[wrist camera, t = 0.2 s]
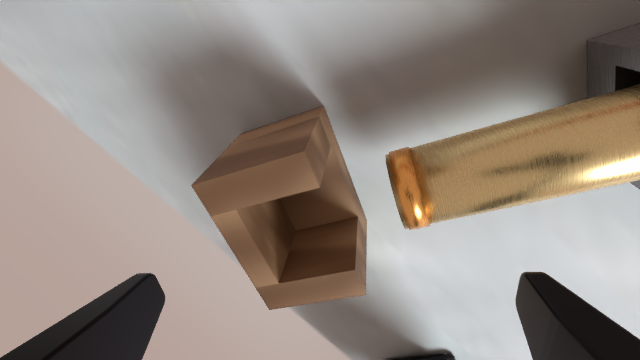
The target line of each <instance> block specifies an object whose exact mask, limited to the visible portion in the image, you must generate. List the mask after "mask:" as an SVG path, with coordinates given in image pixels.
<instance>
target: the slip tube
mask: <svg viewBox="0 0 640 360" xmlns="http://www.w3.org/2000/svg"><path fill="white" fill-rule="evenodd" d="M386 164H387V169H388V174H389V178H390V183H391V187H392V190H393V194H394V198H395V201H396V205H397V208H398V212H399V215H400V218H401V221H402V223H403V226H404V228H405V229H408V228H409V230H413V229H417V228H422V227H427V226H430V224H432V223H436V222H441V221H446V220H451V219H456V218H460V217H465V216H470V215H475V214H480V213H484V212H489V211H494V210H499V209H503V208H508V207H513V206H518V205H523V204H527V203H532V202H537V201H542V200H547V199H551V198H556V197H561V196H566V195H571V194H575V193H580V192H585V191H590V190H595V189H599V188H604V187H609V186H614V185H618V184H623V183H628V182H633V181H638V180H640V84H638V85H635V86H631V87H628V88H624V89H620V90H617V91H613V92H610V93H606V94H603V95H599V96H595V97H592V98H588V99H585V100H581V101H577V102H574V103H570V104H567V105H563V106H560V107H556V108H552V109H549V110H545V111H542V112H538V113H534V114H531V115H527V116H524V117H520V118H516V119H513V120H509V121H506V122H502V123H499V124H495V125H491V126H488V127H484V128H481V129H477V130H473V131H470V132H466V133H463V134H459V135H456V136H452V137H448V138H445V139H441V140H438V141H434V142H430V143H427V144H423V145H420V146H416V147H413V148H409V147H405V148H402V149H398V150H395V151H391V152H389V154H387V155H386Z"/></svg>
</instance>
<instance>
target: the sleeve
mask: <svg viewBox="0 0 640 360" xmlns="http://www.w3.org/2000/svg"><path fill="white" fill-rule="evenodd" d="M587 71H588V98H592V97H595V96H599V95H603V94H606V93H610V92H613V91H617V90H620V89H624V88H628V87H631V86H635V85H638V84H640V23H639V24H636V25H633V26H630V27H627V28H624V29H621V30H618V31H615V32H611V33H608V34H605V35H602V36H599V37H596V38H593V39H590V40H587ZM630 183H631V184H633V185H634V186H636V187H637V188H639V189H640V180H638V181H633V182H630Z"/></svg>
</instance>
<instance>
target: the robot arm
mask: <svg viewBox="0 0 640 360" xmlns="http://www.w3.org/2000/svg"><path fill="white" fill-rule="evenodd" d="M164 303H165V294H164V292H163V290H162V288H161V286H160V284H159V282H158V280H157V278H156V276H155V275H153V274H151V273H139V274H136V275H134V276H132V277H130V278H129V279H127V280H126V281H124V282H122V283H121V284H119V285H118V286H116V287H114V288H113V289H111V290H109V291H108V292H106V293H105V294H103V295H101V296H100V297H98V298H97V299H95V300H93V301H92V302H90V303H88V304H87V305H85V306H83V307H82V308H80V309H79V310H77V311H76V312H74V313H72V314H70V315H69V316H67V317H66V318H64V319H63V320H61V321H59V322H58V323H56V324H54V325H53V326H51V327H49V328H48V329H46V330H45V331H43V332H41V333H40V334H38V335H36V336H35V337H33V338H32V339H30V340H28V341H27V342H25V343H23V344H22V345H20V346H19V347H17V348H15V349H14V350H12V351H10V352H9V353H7V354H6V355H4V356H2V357H1V358H0V360H142V358H143V355H144V353H145V351H146V348H147V346H148V343H149V341H150V338H151V336H152V333H153V331H154V328H155V326H156V323H157V321H158V318H159V316H160V313H161V311H162V308H163V306H164ZM516 308H517V311H518V315H519V318H520V321H521V324H522V327H523V330H524V333H525V336H526V339H527V342H528V346H529V349H530V352H531V355H532V358H533V360H640V339H638V338H637V337H636V336H634V335H633V334H631V333H630V332H628V331H627V330H626V329H624V328H623V327H621V326H620V325H619V324H617V323H616V322H614V321H613V320H611V319H610V318H609V317H607V316H606V315H604V314H603V313H601V312H600V311H599V310H597V309H596V308H594V307H593V306H592V305H590V304H589V303H587V302H586V301H584V300H583V299H582V298H580V297H579V296H577V295H576V294H574V293H573V292H572V291H570V290H569V289H567V288H566V287H565V286H563V285H562V284H560V283H559V282H557V281H556V280H555V279H553V278H552V277H550V276H549V275H547V274H546V273H543V272H524V273H522V274H521V276H520V280H519V285H518V290H517V295H516ZM394 360H455V357H454V356H453V355H451V354H447V355H436V356H426V357H415V358H404V359H394Z"/></svg>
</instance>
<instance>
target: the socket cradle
mask: <svg viewBox="0 0 640 360" xmlns="http://www.w3.org/2000/svg"><path fill="white" fill-rule="evenodd" d="M191 186H192V187H193V189H194V191H195V192H196V194H197V195H198V197H199V199H200V200H201V202H202V203H203V205H204V207H205V208H206V210H207V211H208V213H209V214H210V216H211V218H212V219H213V221H214V222H215V224H216V226H217V227H218V229H219V230H220V232H221V234H222V235H223V237H224V238H225V240H226V242H227V243H228V245H229V246H230V248H231V249H232V251H233V253H234V254H235V256H236V257H237V259H238V261H239V262H240V264H241V265H242V267H243V269H244V270H245V272H246V273H247V275H248V277H249V278H250V280H251V281H252V283H253V284H254V286H255V288H256V289H257V291H258V292H259V294H260V296H261V297H262V299H263V300H264V302H265V303H266V305H267V307H268V308H269V310H272V309H278V308H285V307H291V306H297V305H304V304H310V303H317V302H323V301H329V300H336V299H342V298H349V297H355V296H362V295H366V238H367V220H366V217H365V214H364V212H363V209H362V206H361V204H360V201H359V198H358V196H357V193H356V190H355V188H354V185H353V182H352V180H351V177H350V174H349V172H348V169H347V166H346V164H345V161H344V158H343V156H342V153H341V150H340V148H339V145H338V142H337V140H336V137H335V134H334V132H333V129H332V126H331V124H330V121H329V118H328V116H327V113H326V110H325V108H324V106H321V107H318V108H316V109H313V110H310V111H307V112H304V113H301V114H298V115H295V116H292V117H289V118H286V119H283V120H281V121H278V122H275V123H272V124H269V125H266V126H263V127H260V128H257V129H254V130H251V131H248V132H245V133H243V134H240V135H239V136H238V137H237V138H236V140H235V141H234V142H233V143H232V144H231V145H230V146H229V147H228V148H227V149H226V150H225V151H224V152H223V153H222V154H221V155H220V156H219V157H218V158H217V159H216V160H215V161H214V162H213V163H212V164H211V166H210V167H209V168H208V169H207V170H206V171H205V172H204V173H203V174H202V175H201V176H200V177H199V178H198V179H197V180H196V181H195V182H194V183H193V184H192V185H191Z"/></svg>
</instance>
